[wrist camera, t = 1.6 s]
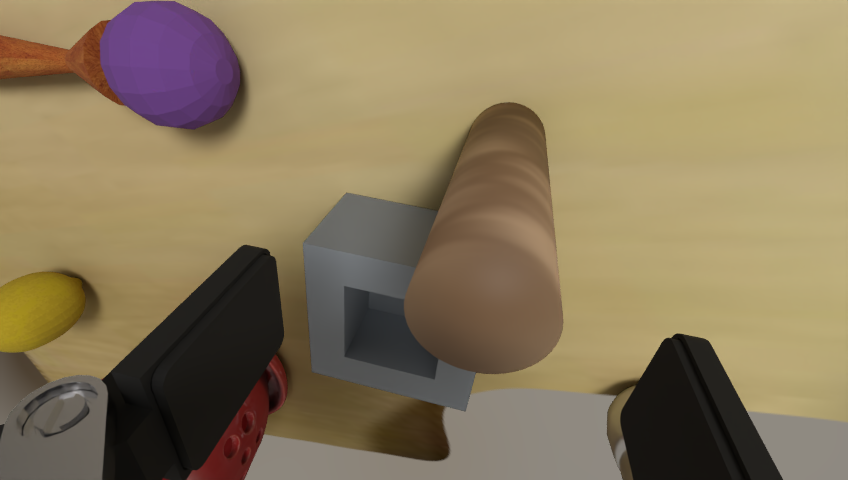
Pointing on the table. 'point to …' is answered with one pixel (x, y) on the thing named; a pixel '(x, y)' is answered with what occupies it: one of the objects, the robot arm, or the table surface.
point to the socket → (373, 301)
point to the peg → (492, 253)
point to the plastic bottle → (619, 433)
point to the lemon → (38, 309)
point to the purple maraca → (144, 63)
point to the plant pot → (246, 428)
